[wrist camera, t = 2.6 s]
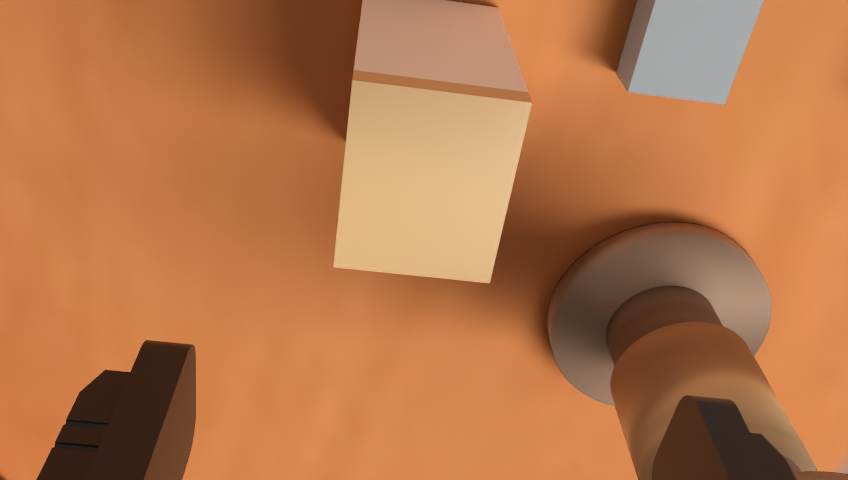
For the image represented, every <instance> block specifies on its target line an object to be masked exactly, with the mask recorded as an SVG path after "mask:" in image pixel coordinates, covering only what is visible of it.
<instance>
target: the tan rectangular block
mask: <svg viewBox="0 0 848 480" xmlns="http://www.w3.org/2000/svg"><path fill="white" fill-rule="evenodd" d="M531 106H532V101H531V98H530V95H529V92H528V89H527V87H526V84H525V81H524V78H523V75H522V72H521V69H520V67H519V64H518V61H517V58H516V55H515V52H514V49H513V46H512V44H511V41H510V38H509V35H508V32H507V29H506V26H505V23H504V21H503V18H502V15H501V12H500V9H499V7H492V6H484V5H477V4H470V3H463V2H455V1H448V0H363V1H362V8H361V16H360V24H359V31H358V39H357V47H356V55H355V62H354V70H353V78H352V87H351V97H350V107H349V117H348V127H347V137H346V147H345V156H344V166H343V176H342V186H341V196H340V206H339V216H338V226H337V235H336V245H335V255H334V265H333V267H335V268H345V269H355V270H365V271H374V272H384V273H394V274H404V275H413V276H423V277H433V278H443V279H453V280H462V281H472V282H482V283H490V280H491V276H492V272H493V267H494V263H495V259H496V255H497V250H498V246H499V242H500V238H501V233H502V229H503V225H504V221H505V216H506V212H507V208H508V204H509V199H510V195H511V191H512V187H513V182H514V178H515V174H516V170H517V165H518V161H519V157H520V152H521V148H522V144H523V140H524V135H525V131H526V127H527V123H528V118H529V114H530V110H531Z"/></svg>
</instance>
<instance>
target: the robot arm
mask: <svg viewBox="0 0 848 480" xmlns="http://www.w3.org/2000/svg"><path fill="white" fill-rule="evenodd" d="M195 420H196V355H195V347H194V345H190V344H180V343H170V342H159V341H149V340H146V341H145V342H144V343H143V345H142V347H141V349H140V351H139V354H138V356H137V358H136V361H135V363H134V365H133V368H132V370H131V372H122V371H111V370H105V371H104V372H102V373H101V374H100V375H99V376H98V377H97V378H96V379H94V380H93V381H92V382H91V383H90V384H89V385H87V386H86V387H85V388H84V389H83V390H82V391H81V392H80V393H79V395H78V397H77V399H76V401H75V403H74V405H73V407H72V409H71V411H70V413H69V415H68V417H67V419H66V424H65V425H63V427H62V429H61V431H60V433H59V435H58V437H57V439H56V441H55V447H54V448H52V450H51V452H50V454H49V456H48V458H47V460H46V462H45V464H44V466H43V468H42V470H41V472H40V474H39V476H38V478H37V480H182V478H183V475H184V472H185V468H186V465H187V462H188V458H189V455H190V451H191V447H192V442H193V436H194V429H195ZM652 480H796V478H795V476H794V474H793V472H792V470H791V468H790V466H789V464H788V462H787V461H786V459H785V458H784V457H783V456H782V455H781V454H780V453H779V452H778V451H777V450H776V448H775V447H774V446H773V445H772V444H771V443H770V442H769V441H768V440H767V439H766V438H765V437H764V436H763V435H762V434H759V433H750V431H749V429H748V427H747V425H746V423H745V421H744V419H743V417H742V415H741V413H740V411H739V409H738V407H737V406H736V404H735V403H734V402H733V401H732V400H729V399H721V398H711V397H700V396H690V395H686V396H684V397H682V398H681V400H680V401H679V403H678V405H677V407H676V409H675V412H674V414H673V416H672V419H671V421H670V423H669V425H668V428H667V430H666V432H665V435H664V437H663V439H662V441H661V444H660V446H659V448H658V451H657V453H656V455H655V458H654V462H653V467H652Z"/></svg>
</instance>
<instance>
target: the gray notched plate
mask: <svg viewBox="0 0 848 480" xmlns="http://www.w3.org/2000/svg"><path fill="white" fill-rule="evenodd" d="M763 1H764V0H637V3H636V6H635V10H634V13H633V16H632V20H631V23H630V27H629V30H628V34H627V37H626V41H625V44H624V48H623V51H622V54H621V58H620V61H619V65H618V68H617V72H616V74H617V76H618V77H619V79H620V80H621V82H622V84H623V85H624V87H625V88H626V90H627V92H631V93H639V94H646V95H654V96H662V97H670V98H677V99H685V100H693V101H701V102H708V103H716V104H724V105H725V102H726V100H727V97H728V94H729V92H730V89H731V86H732V84H733V81H734V78H735V76H736V73H737V70H738V68H739V65H740V62H741V60H742V57H743V54H744V52H745V49H746V46H747V44H748V41H749V39H750V36H751V33H752V31H753V28H754V25H755V23H756V20H757V17H758V15H759V12H760V9H761V7H762V4H763Z"/></svg>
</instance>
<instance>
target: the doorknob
mask: <svg viewBox="0 0 848 480" xmlns="http://www.w3.org/2000/svg"><path fill="white" fill-rule="evenodd" d="M771 314H772V301H771V294H770V291H769V287H768V284H767V283H766V281H765V279H764V277H763V275H762V273H761V272H760V270H759V269H758V267H757V266H756V264H755V263H754V261H753V260H752V258H751V257H750V256H749V254H748V253H747V252H746V250H745V249H744V248H743V247H742V246H740V245H739V244H738V243H737V242H736V241H734V240H733V239H731V238H730V237H728V236H727V235H725V234H723V233H721V232H719V231H717V230H714V229H711V228H708V227H705V226H702V225H696V224H690V223H678V222H668V223H656V224H650V225H644V226H640V227H636V228H632V229H629V230H626V231H624V232H621V233H618V234H616V235H613V236H612V237H610V238H608V239H606V240H604V241H602V242H600V243H599V244H597V245H596V246H594V247H593V248H591V249H590V250H588V251H587V252H586V253H584V254H583V255H582V256H581V257H580V258H578V259H577V260H576V261H575V262H574V263H573V265H572V266H571V267H570V268H569V269H568V270H567V271H566V273H565V274H564V275H563V277H562V278H561V279H560V281H559V283H558V285H557V286H556V288H555V290H554V292H553V295H552V298H551V300H550V304H549V308H548V313H547V328H548V335H549V339H550V343H551V348H552V352H553V355H554V358H555V361H556V364H557V366H558V367H559V369H560V371H561V373H562V374H563V375H564V377H565V378H566V379H567V380H568V381H569V382H570V383H571V384H572V385H573V386H574V387H575V388H576V389H578V390H579V391H580V392H582V393H583V394H585V395H587V396H589V397H591V398H592V399H595V400H597V401H600V402H602V403H605V404H609V405H613V406H615V407H616V411H617V414H618V417H619V420H620V423H621V426H622V429H623V433H624V436H625V439H626V442H627V445H628V448H629V452H630V455H631V458H632V461H633V464H634V467H635V470H636V474H637V477H638V480H652V467H653V462H654V458H655V455H656V453H657V451H658V448H659V446H660V444H661V441H662V439H663V437H664V435H665V432H666V430H667V428H668V425H669V423H670V421H671V419H672V416H673V414H674V412H675V409H676V407H677V405H678V403H679V401H680V400H681V398H682V397H684V396H686V395H690V396H700V397H711V398H721V399H729V400H732V401H733V402H734V403H735V404H736V406H737V407H738V409H739V411H740V413H741V415H742V417H743V419H744V421H745V423H746V425H747V427H748V429H749V431H750V433H759V434H762V435H763V436H764V437H765V438H766V439H767V440H768V441H769V442H770V443H771V444H772V445H773V446H774V447H775V448H776V450H777V451H778V452H779V453H780V454H781V455H782V456H783V457H784V458H785V459H786V461H787V462H788V464H789V466H790V468H791V470H792V472H793V474H794V476H795V478H796V480H848V474H843V473H835V472H818V471H817V468H816V466H815V465H814V463H813V461H812V459H811V457H810V456H809V454H808V452H807V450H806V448H805V447H804V445H803V443H802V441H801V440H800V438H799V436H798V434H797V432H796V431H795V429H794V427H793V425H792V424H791V422H790V420H789V418H788V416H787V415H786V413H785V411H784V409H783V407H782V406H781V404H780V402H779V400H778V399H777V397H776V395H775V393H774V391H773V390H772V388H771V386H770V384H769V383H768V381H767V379H766V377H765V375H764V374H763V372H762V370H761V368H760V366H759V365H758V363H757V361H756V359H755V358H754V355H755V354H756V353H757V351H758V350H759V348H760V346H761V345H762V343H763V341H764V339H765V337H766V334H767V332H768V329H769V325H770V321H771Z"/></svg>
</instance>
